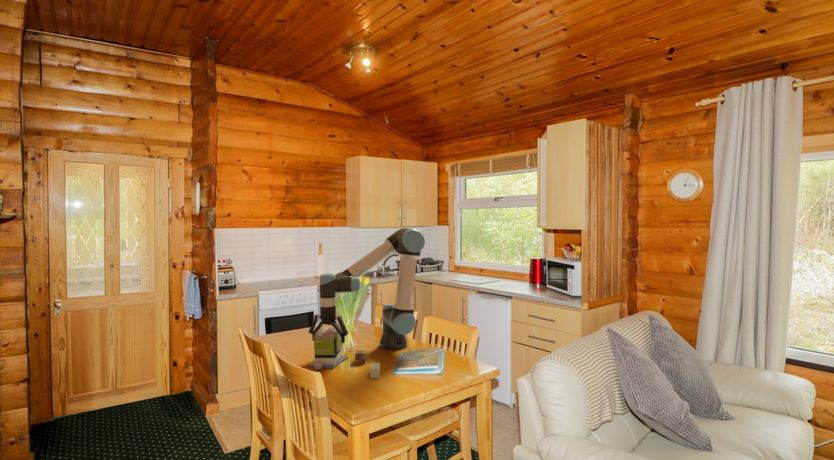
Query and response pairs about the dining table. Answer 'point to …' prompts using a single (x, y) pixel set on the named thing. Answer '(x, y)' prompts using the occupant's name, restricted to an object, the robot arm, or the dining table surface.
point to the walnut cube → (360, 357)
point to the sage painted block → (375, 370)
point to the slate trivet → (332, 365)
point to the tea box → (327, 346)
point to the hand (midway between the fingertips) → (328, 348)
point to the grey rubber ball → (318, 365)
